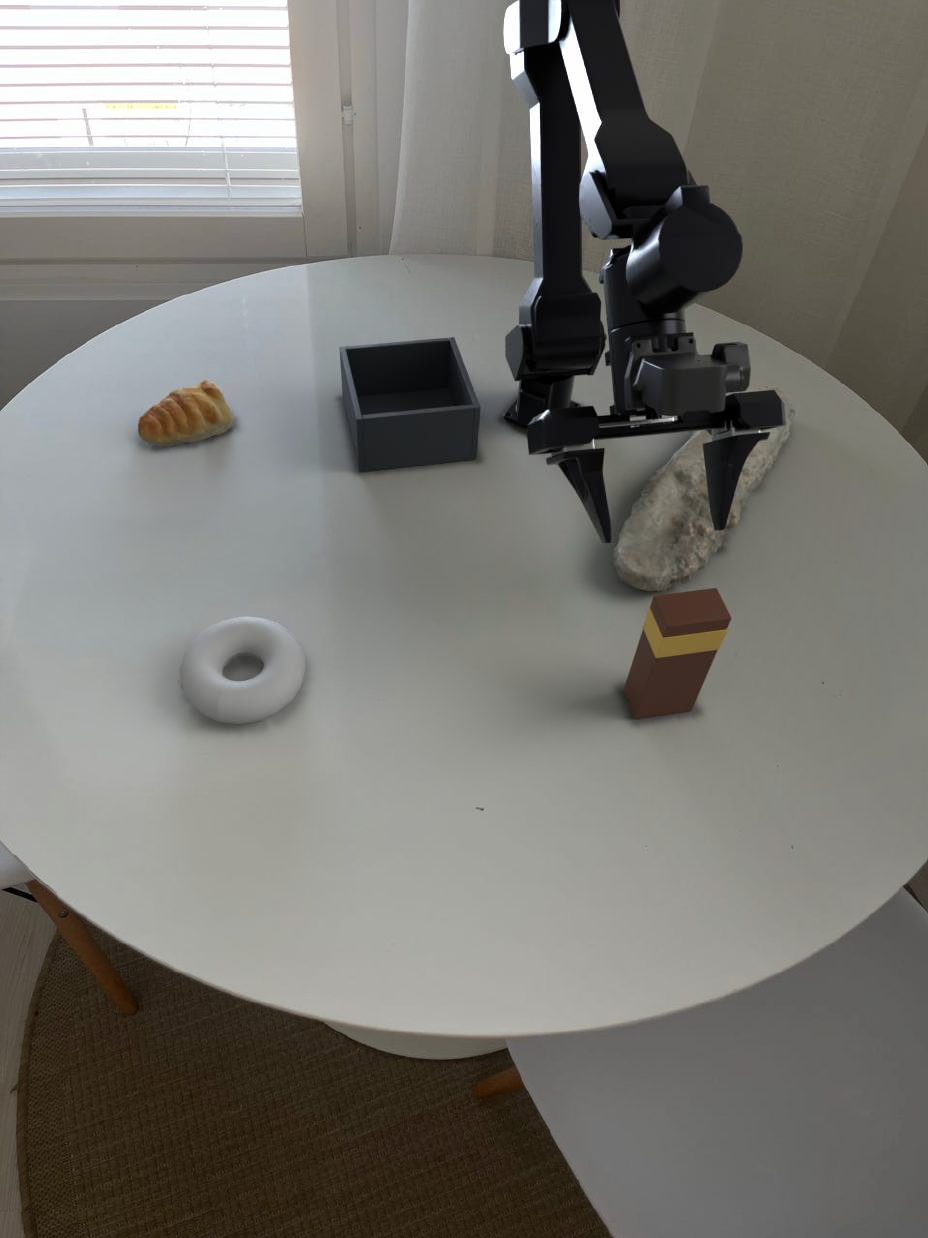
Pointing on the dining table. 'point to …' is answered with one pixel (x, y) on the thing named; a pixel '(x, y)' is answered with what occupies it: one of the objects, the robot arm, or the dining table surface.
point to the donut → (248, 696)
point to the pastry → (186, 416)
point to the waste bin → (409, 404)
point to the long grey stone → (687, 512)
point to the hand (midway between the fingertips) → (663, 536)
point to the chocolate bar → (675, 652)
